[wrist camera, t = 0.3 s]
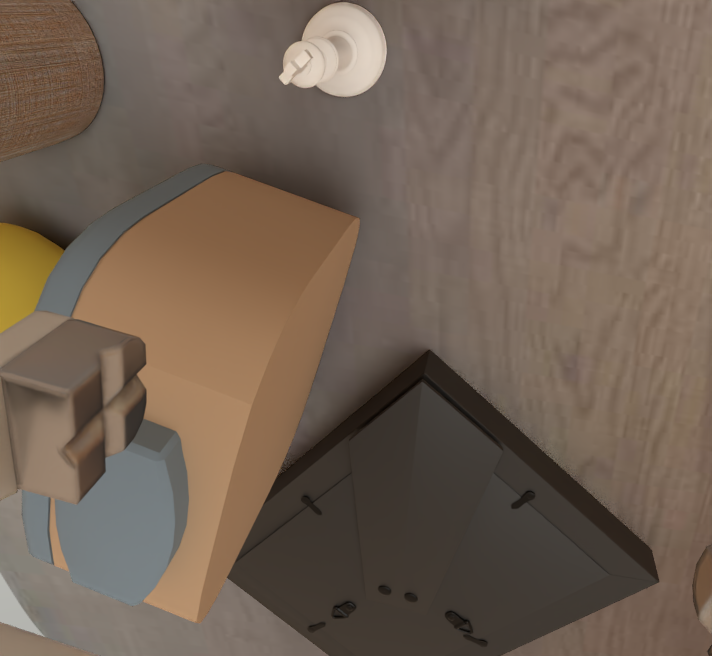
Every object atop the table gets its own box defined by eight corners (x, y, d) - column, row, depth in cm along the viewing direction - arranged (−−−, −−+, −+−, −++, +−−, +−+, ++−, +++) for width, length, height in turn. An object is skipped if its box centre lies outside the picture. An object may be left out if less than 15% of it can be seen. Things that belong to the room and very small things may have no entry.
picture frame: (430, 349, 44) (213, 530, 57) (422, 381, 40) (193, 566, 54) (651, 549, 47) (398, 674, 61) (662, 595, 44) (391, 717, 57)
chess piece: (404, 54, 35) (368, 75, 27) (342, 114, 37) (290, 150, 29) (346, -19, 34) (289, -23, 25) (285, 47, 36) (214, 64, 28)
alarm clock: (234, 137, 40) (-16, 266, 21) (376, 188, 39) (248, 367, 20) (188, 387, 50) (-6, 621, 31) (299, 430, 50) (169, 694, 31)
